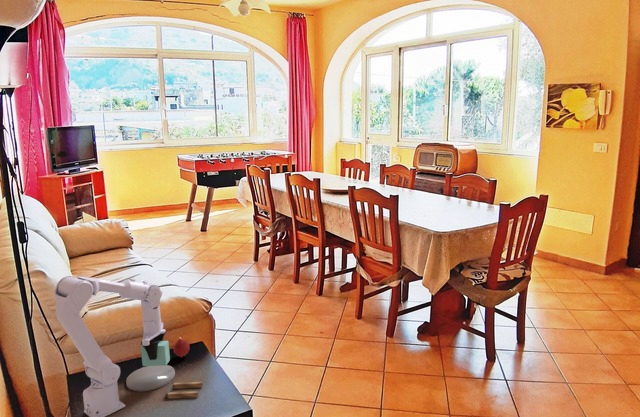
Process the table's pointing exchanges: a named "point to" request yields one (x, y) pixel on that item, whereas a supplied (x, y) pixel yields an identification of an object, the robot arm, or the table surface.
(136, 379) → the plate
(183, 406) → the table surface
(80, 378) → the table surface
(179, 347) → the onion
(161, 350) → the tall mint rectangular block
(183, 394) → the brown wooden frame
